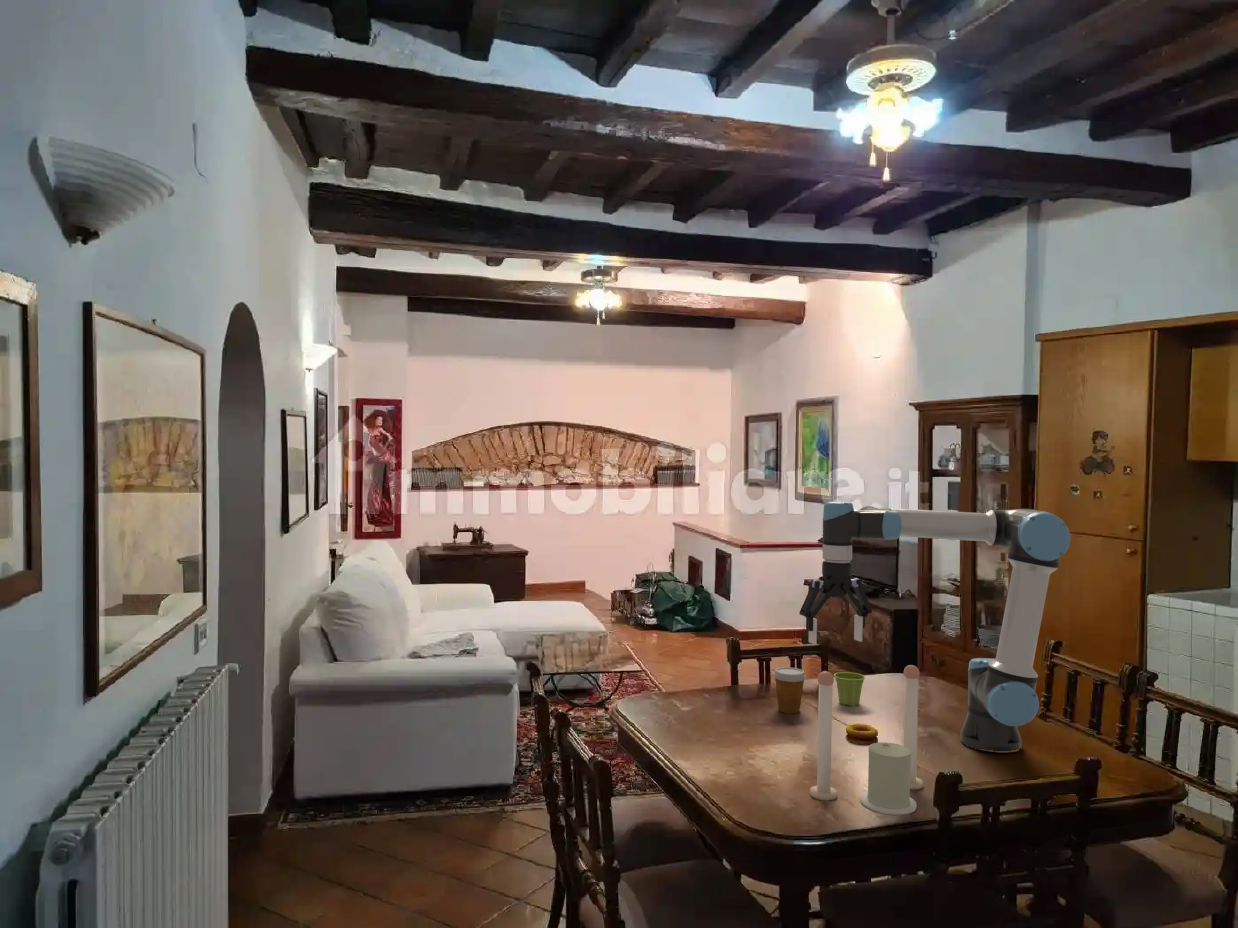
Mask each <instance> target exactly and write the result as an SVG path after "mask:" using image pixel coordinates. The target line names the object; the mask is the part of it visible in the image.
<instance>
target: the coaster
mask: <svg viewBox="0 0 1238 928" xmlns="http://www.w3.org/2000/svg"><path fill="white" fill-rule="evenodd" d="M867 795H868V790H867V791H865V792H863V793H861V795H860V797H859V802H860V803H861V805H862V806H863V807H865V808H867V809H868V810H871V811H873V812H876V813H880V814H884V815H891V816H903V815H910V814H912V813H914V812H916V811H917V802H916V801H915V799H913V798H912V797H910V805H909V806H908V807H906V808H903V809H888V808H883V807H879V806H876V805H874V804H872V803H871V802H869V800H868V799H867Z"/></svg>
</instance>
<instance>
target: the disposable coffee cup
mask: <svg viewBox="0 0 1238 928" xmlns="http://www.w3.org/2000/svg"><path fill="white" fill-rule="evenodd" d="M773 677H774V678H775V680H774V681H775V688H776V697H777V698H776V699H777V707H778V711H780V712H781V713H785V714H796V713H800V711H801V705H802V704H801V703H802V697H803V689H804V683H805V682H804V681H805V679H806V677H807V676H806V674H805V671H804V670H803V669H801V668H796V667H787V666H785V667H777V668H775V670H774V673H773Z"/></svg>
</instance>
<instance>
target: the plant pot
mask: <svg viewBox="0 0 1238 928" xmlns="http://www.w3.org/2000/svg"><path fill="white" fill-rule="evenodd" d="M833 677H834V680H835V681H836V687H837V694H838V703H839V704H840V705H844V706H845V705H847V706H850V707H855V706H859V704H860V700H861V695H862V694H861V693H862V688H863V684H864V680H865V679H866V677H865V675H863V674H860V673H857V672H850V671H844V672H843V671H840V672H836V673H834V674H833Z"/></svg>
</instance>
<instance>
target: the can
mask: <svg viewBox="0 0 1238 928" xmlns="http://www.w3.org/2000/svg"><path fill="white" fill-rule="evenodd" d="M867 748H868V776H867V779H868V780H867V791H868V795H867V799H868V800H869V802H871V803H872V804H874V805H876V806H879V807H883V808H888V809H903V808H906V807H908V806H909V805H910V798H911V796H910V794H911V792H910V791H911V789H910V761H911V751H910V749H908V748H907V747H905V746H904V745H902V744H898V743H894V742H893V743H892V742H883V741H882V742H881V741H880V742H874V743H871V744H869V745H868V747H867Z"/></svg>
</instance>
